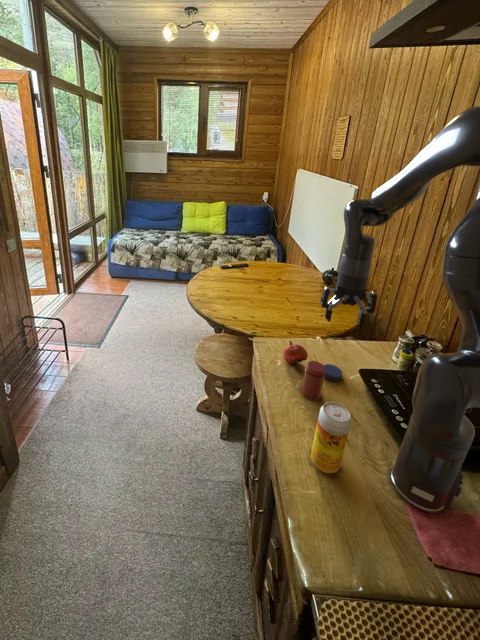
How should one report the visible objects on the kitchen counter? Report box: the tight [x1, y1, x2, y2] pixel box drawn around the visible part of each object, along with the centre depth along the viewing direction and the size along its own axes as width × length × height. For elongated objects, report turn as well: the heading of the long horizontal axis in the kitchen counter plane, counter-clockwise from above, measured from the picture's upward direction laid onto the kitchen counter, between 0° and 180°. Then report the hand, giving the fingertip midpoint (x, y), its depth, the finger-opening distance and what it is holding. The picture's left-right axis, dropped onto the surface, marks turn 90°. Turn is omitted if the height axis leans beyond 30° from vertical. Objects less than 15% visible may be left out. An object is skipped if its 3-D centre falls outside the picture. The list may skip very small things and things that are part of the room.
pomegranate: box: [283, 340, 309, 372], centre depth 101 cm, size 7×7×10 cm
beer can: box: [310, 401, 352, 474], centre depth 67 cm, size 6×6×15 cm
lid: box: [323, 363, 343, 382], centre depth 97 cm, size 6×6×2 cm
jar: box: [300, 360, 326, 401], centre depth 88 cm, size 5×5×10 cm
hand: (343, 321), depth 91 cm, fingers open, 8 cm apart
